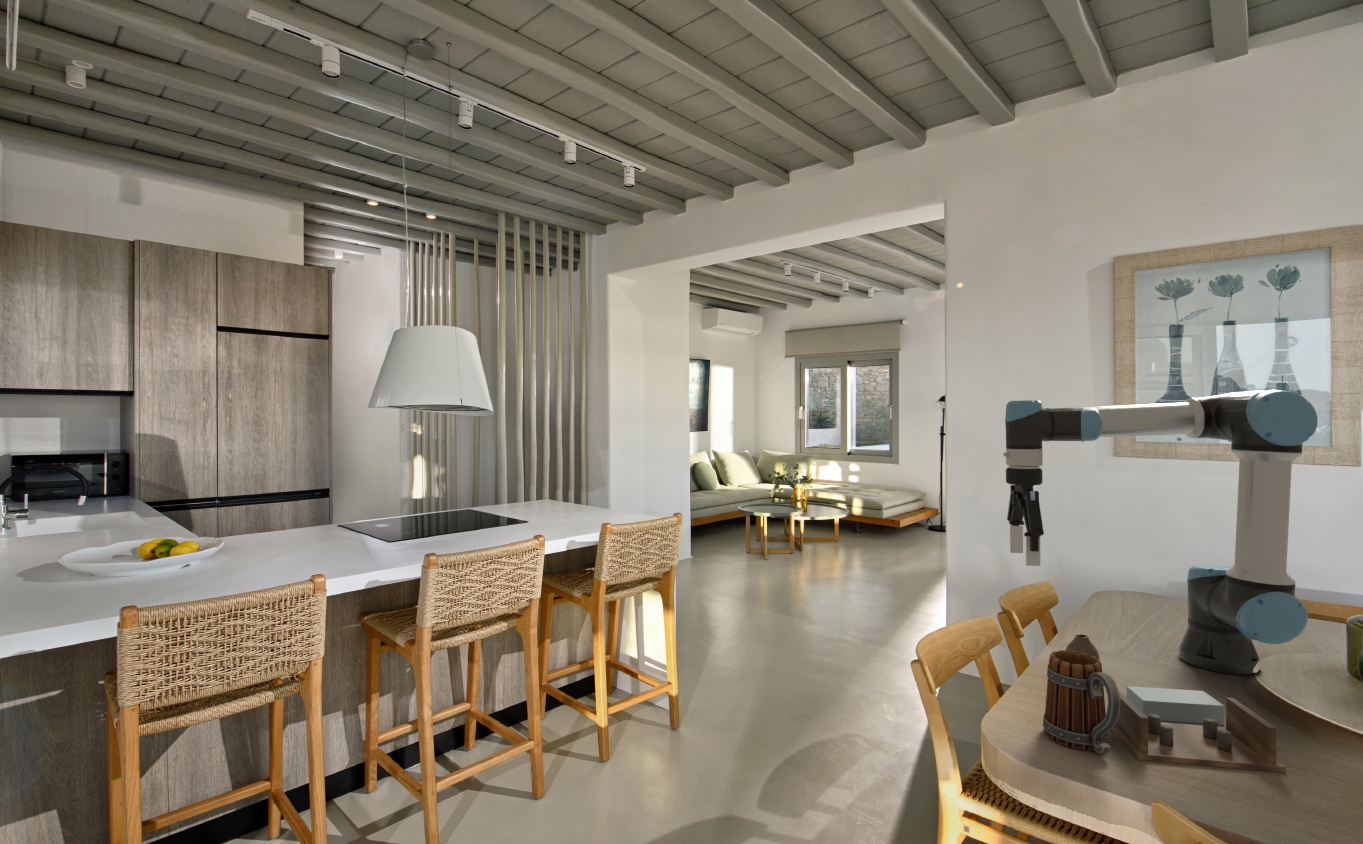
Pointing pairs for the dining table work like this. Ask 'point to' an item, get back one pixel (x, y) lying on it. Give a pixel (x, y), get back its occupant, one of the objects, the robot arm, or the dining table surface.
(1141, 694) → the board
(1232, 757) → the peg frame
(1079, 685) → the mug
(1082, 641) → the vase
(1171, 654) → the dining table surface
